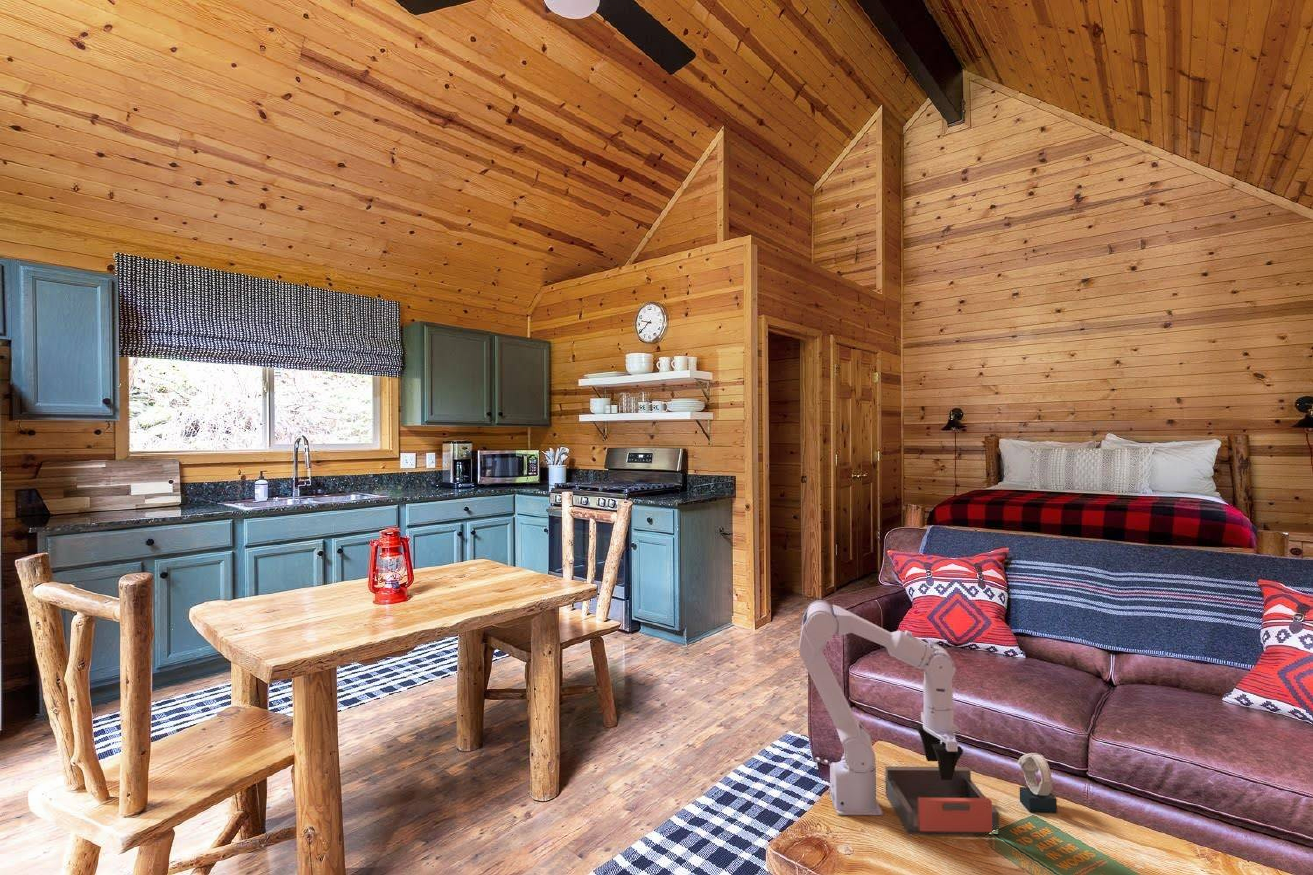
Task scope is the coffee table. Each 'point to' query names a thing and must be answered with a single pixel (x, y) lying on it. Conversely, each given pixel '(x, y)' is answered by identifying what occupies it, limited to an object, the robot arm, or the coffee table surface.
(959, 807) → the panel
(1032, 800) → the ring sculpture
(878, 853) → the coffee table surface
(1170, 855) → the coffee table surface
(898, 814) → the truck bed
